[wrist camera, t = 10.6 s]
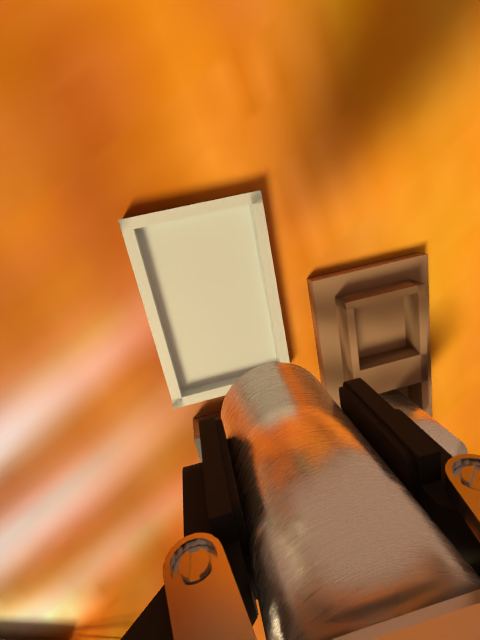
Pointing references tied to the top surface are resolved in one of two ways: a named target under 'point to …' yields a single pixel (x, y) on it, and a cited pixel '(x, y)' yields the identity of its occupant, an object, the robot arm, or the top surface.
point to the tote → (208, 292)
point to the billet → (328, 514)
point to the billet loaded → (425, 422)
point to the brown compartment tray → (375, 327)
